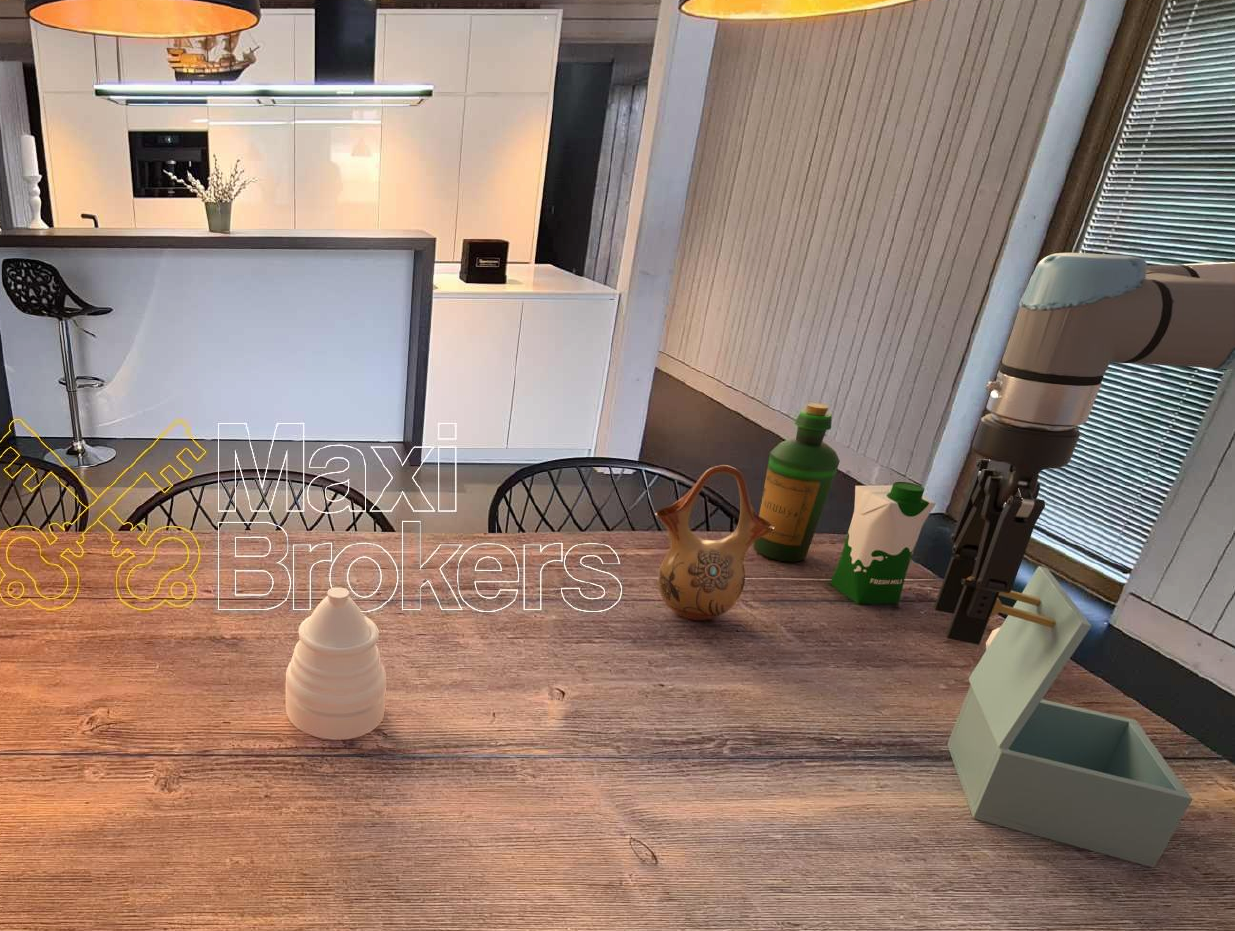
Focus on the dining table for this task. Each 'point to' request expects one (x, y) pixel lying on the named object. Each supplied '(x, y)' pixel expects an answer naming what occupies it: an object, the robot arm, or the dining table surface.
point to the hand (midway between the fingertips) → (955, 625)
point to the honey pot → (336, 672)
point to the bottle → (797, 487)
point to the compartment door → (1026, 654)
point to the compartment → (1071, 780)
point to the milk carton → (881, 542)
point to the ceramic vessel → (706, 555)
